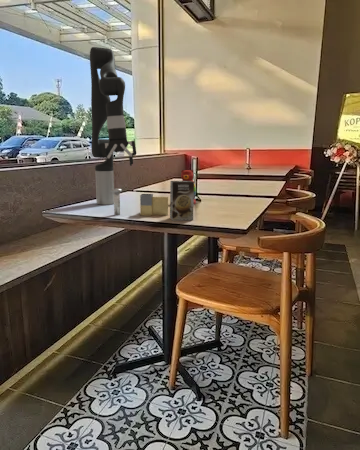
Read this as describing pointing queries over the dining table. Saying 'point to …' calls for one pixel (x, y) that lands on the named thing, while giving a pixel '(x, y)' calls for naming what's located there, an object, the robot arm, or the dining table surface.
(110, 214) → the dining table surface
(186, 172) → the stacking bear
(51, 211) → the dining table surface
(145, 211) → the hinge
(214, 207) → the dining table surface
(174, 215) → the coffee box
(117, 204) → the pin
